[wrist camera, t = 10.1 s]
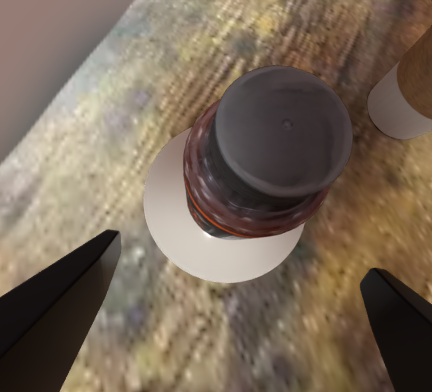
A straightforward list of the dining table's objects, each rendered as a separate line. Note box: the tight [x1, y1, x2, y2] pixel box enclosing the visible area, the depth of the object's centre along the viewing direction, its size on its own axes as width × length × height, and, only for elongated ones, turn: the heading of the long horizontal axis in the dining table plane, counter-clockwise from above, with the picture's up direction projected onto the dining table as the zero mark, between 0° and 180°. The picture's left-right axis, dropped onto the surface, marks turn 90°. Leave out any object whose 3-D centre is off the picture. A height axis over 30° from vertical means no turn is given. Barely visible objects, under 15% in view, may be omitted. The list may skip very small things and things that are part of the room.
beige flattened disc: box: [143, 127, 305, 283], centre depth 18 cm, size 12×12×1 cm
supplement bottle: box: [183, 65, 353, 240], centre depth 12 cm, size 6×6×11 cm
